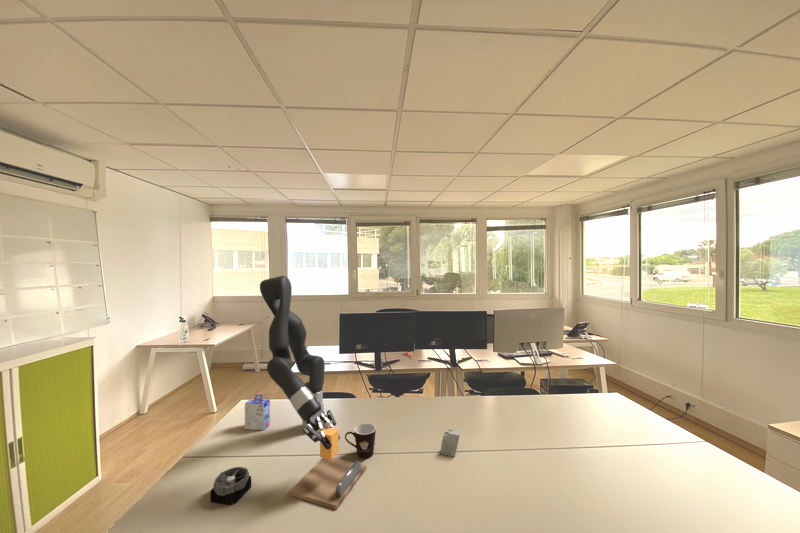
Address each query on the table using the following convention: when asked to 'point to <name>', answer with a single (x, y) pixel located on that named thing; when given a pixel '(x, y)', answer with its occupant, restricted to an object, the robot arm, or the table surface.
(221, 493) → the cpu cooler
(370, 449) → the coffee mug
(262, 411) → the ink cartridge box
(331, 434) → the orange rectangular prism
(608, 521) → the table surface
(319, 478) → the plate
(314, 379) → the robot arm
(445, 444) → the mineral specimen
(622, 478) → the table surface
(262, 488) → the table surface
